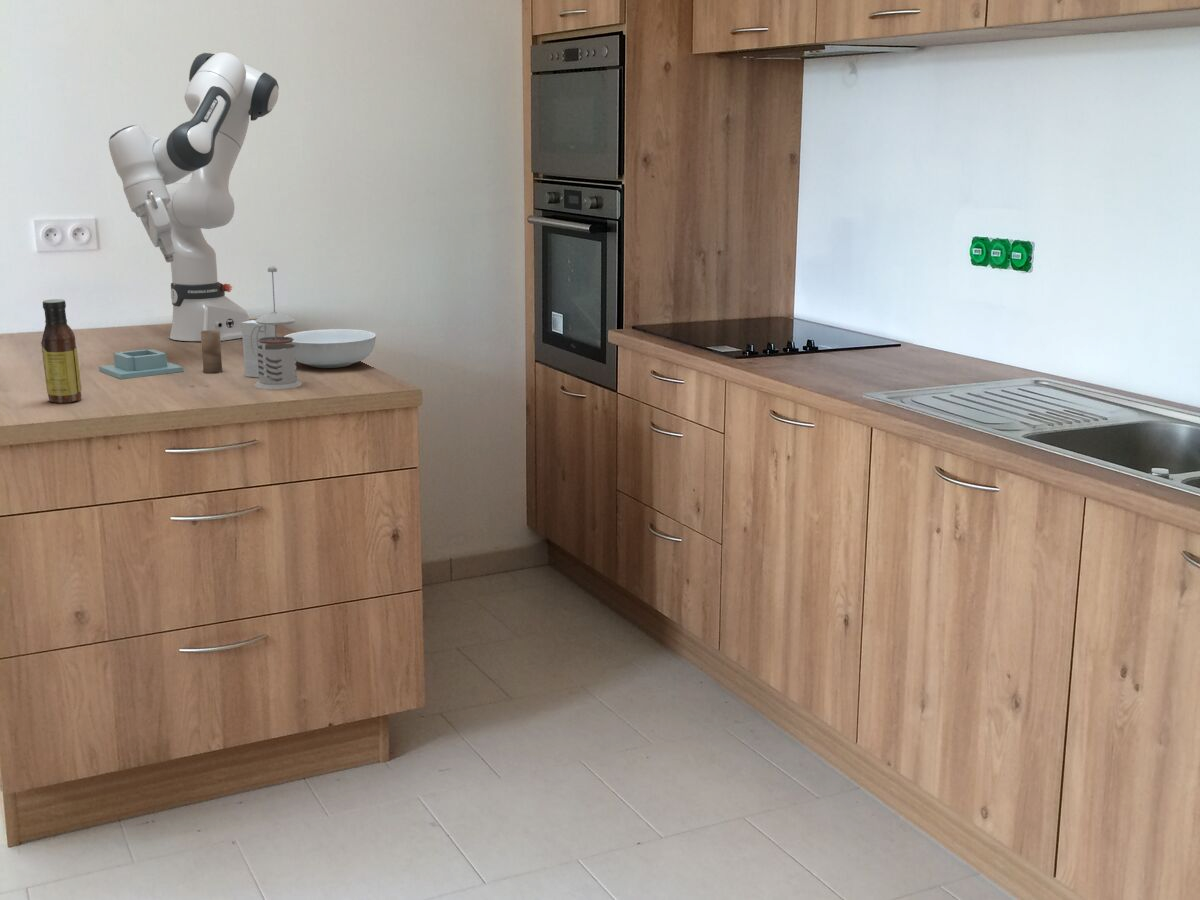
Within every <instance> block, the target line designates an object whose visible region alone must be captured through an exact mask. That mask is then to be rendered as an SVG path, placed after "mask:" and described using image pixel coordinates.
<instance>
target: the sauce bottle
mask: <svg viewBox="0 0 1200 900" xmlns="http://www.w3.org/2000/svg"><path fill="white" fill-rule="evenodd" d="M66 307H67V303H66V300H65V299H63V298H62V299H61V298H53V299H45V300H43V301H42V308H43V310H44V311H43V312H44V317H45V321H44V323H45V326H44V329H43V333H42V334H43V335H42V338H41V342H40V344H41V353H42V361H43V368H44V375H45V376H44V377H45V386H46V391H47V393H46V394H47V396H48V400H49V402H51V403H55V404H56V403H57V404H68V403H74V402H78V401H80V400H81V399H82V381H81V374H80V364H79V356H78V347H77V345H76V336H75V333H74V331H73V330H72V328H71V327H70V325H68V320H67V314H66V313H67V312H66Z"/></svg>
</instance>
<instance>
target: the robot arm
mask: <svg viewBox="0 0 1200 900" xmlns="http://www.w3.org/2000/svg"><path fill="white" fill-rule="evenodd" d="M188 75H189V76H188V79H189V80H188V81H189V83H188V85H187V86H186V89H185V92H184V101H185V104H186V107H187V109H188V110H189V111H190V113H192V115H191V118H190V120H188V121H185V122H183V123H181V124H179V125H178V126H176V128H174V129H172V131H170V132H169V133H167V134H166V135H164V136H163V137H156V136H154V135H151V134H150V133H148V132H146V131H144V130H143V129H142V128H141V126H139V125H137V124H135V125H134V124H133V125H128V126H127V127H126V126H125V127H123V128H121V129H119V130H117V131H116V132H114V133H113V134H112V135H111V136H109V138H108V148H109V153H110V157H111V160H112V163H113V166H114V168H115V171H116V173H117V175H118V176H119V178H120V179H121V181H122V188H123V189H122V190H123V192H124V194H125V197H126V200H127V203H128V205H129V208H130V211H131V212H132V213H134V214H135V215H136V217H137V218H139V219H140V221H141V223H142V226H143V227H144V229H145V231H146V233H147V235H148V237H149V240H150V242H151V243H152V244H153V246H154V248H159V250H160V252H161V253H162V255H163V258H164V260H165V263H170V270H171V281H172V282H171V283H170V297H171V304H172V309H173V310H172V322H171V329H170V332H169V333H170V334H169V337H168V338H169V339H170V340H174V341H184V342H201V331H206V330H218V331H220V342H222V341H230V340H236V339H243V337H242V324H241V323H242V322H246V321H250V317H249V315H248V313H247V311H246V310H245V308H243V307H241V306H240V305H238V303H235V301H233V300H232V299H230V298H229V297H227V296H225V295H226V294H225V293H231V291H232V290H233V286H232V285H231V284H230V283H222V282H220V281H218V269H217V268H218V267H217V255H216V251H215V250H214V248H213V247H212V246H211V245H210V244H209V243H208V242H207V240H206V239H205V235H204V234H203V232H202V229H204V230H211V229H216V228H217V229H218V228H222V227H225V226H227V225H228V224H229V223H230V222H231V221H232V219H233V217H234V215H235V201H234V199H233V196H232V195H231V193H230V192H229V191H230V190H229V182H230V178H231V177H230V176H231V173H232V170H233V168H234V166H235V164H236V161H237V159H238V156H239V153H240V152H241V150H242V147H243V145H244V142H245V140H246V136H247V134H248V133H247V132H248V130H249V129H248V128H249V124H250V121H257V119H258V118H263V117H264V116H266V115H268V114H270V113H271V112H272V110H273V109H274V108H275V106H276V104H277V102H278V99H279V83H278V80H277V79H276V78H275V77H274V76H272V75H271V74H269V73H267V72H262V71H261V70H259V69H257V68H254V67H252V66H250V65H248V64H245V63H243V61H242V60H241V59H240V58H239V57H237V56H236V55H235V54H232V53H230V52H227V51H226V52H225V51H220V52H217V53H211V52H203V53H200V54H198V55H197V56H196V57H194V59H193V61H192V63H191V66H190V68H189V74H188ZM190 174H191V177H190V180H188V182H187V183H183V182H178V181H181V179H184V178H185V177H187V176H188V175H190Z"/></svg>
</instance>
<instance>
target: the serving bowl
mask: <svg viewBox="0 0 1200 900" xmlns="http://www.w3.org/2000/svg"><path fill="white" fill-rule="evenodd" d="M283 337H288V338H289V337H291V338H293V339H294V340H293V341H292V342H290V343H285V344H292V345H295V349H296V357H295V359H296V362H298V363H300V364H304V365H306V366H307V365H308V366H311V367H314V368H320V369H335V368H336V369H337V368H344V367H348V366H351V365H352V364H355V363H360V362H361V361H363V360H365V359H366V358H367V357H368V356H370V354H371V353H372V352H373V350H374V348H375V345H376V339H377V335H376V333H375V332H373V331H369V330H365V329H364V330H362V329H351V328H350V329H349V328H348V329H347V328H345V329H344V328H329V329H326V328H325V329H312V330H311V329H310V330H304V331H297V332H293V333H289V334H286V335H284V336H283ZM285 349H287V348H285Z"/></svg>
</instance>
